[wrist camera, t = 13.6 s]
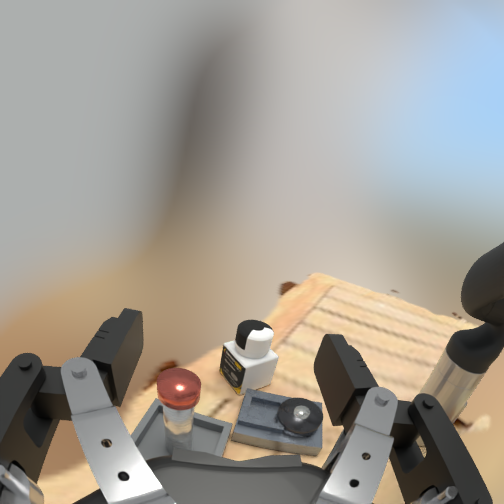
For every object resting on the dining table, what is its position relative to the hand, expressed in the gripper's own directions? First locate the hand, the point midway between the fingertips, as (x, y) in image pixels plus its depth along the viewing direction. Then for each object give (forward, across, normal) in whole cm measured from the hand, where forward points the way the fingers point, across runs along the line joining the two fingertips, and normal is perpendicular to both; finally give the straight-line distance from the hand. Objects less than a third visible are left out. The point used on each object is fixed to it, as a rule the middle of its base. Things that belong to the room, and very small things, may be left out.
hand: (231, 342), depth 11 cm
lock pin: (+10, +4, +28) cm, 30 cm away
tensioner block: (+16, -11, +29) cm, 35 cm away
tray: (+10, +4, +29) cm, 31 cm away
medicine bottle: (+28, -6, +30) cm, 41 cm away
